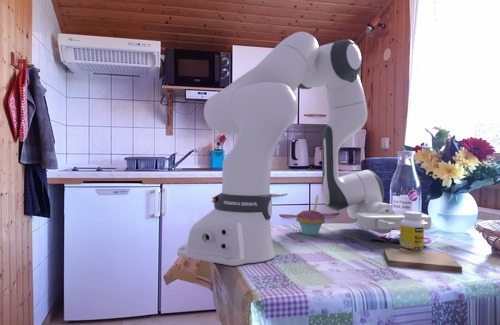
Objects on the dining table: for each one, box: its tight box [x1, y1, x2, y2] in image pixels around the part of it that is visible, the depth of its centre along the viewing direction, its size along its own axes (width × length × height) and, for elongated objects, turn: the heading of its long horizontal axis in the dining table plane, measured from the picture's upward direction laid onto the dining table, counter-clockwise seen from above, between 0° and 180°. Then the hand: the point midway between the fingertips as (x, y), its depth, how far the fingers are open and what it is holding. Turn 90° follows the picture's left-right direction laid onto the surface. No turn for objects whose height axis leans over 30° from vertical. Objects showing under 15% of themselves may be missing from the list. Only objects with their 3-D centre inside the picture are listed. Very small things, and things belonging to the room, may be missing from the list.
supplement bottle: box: [399, 210, 425, 251], centre depth 89 cm, size 5×5×10 cm
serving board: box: [383, 247, 463, 273], centre depth 79 cm, size 14×11×1 cm
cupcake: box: [295, 194, 326, 236], centre depth 107 cm, size 9×8×12 cm
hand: (409, 226), depth 90 cm, fingers open, 8 cm apart
